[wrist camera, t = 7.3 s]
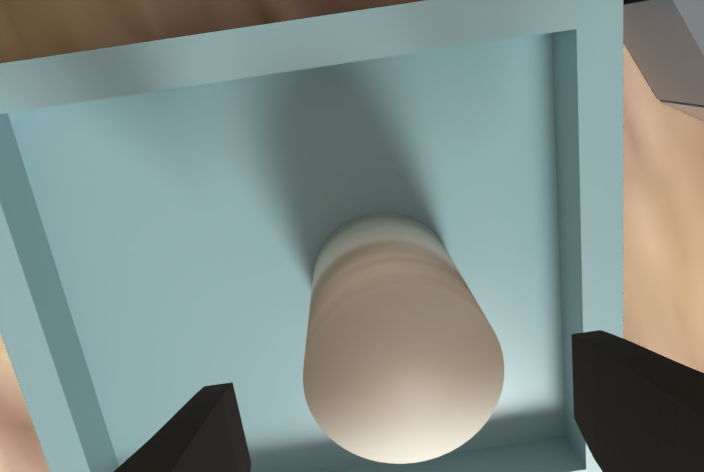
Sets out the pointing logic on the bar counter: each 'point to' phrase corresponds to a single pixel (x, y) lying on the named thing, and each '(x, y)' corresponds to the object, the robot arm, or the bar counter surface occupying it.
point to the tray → (307, 216)
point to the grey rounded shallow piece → (669, 49)
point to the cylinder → (397, 344)
